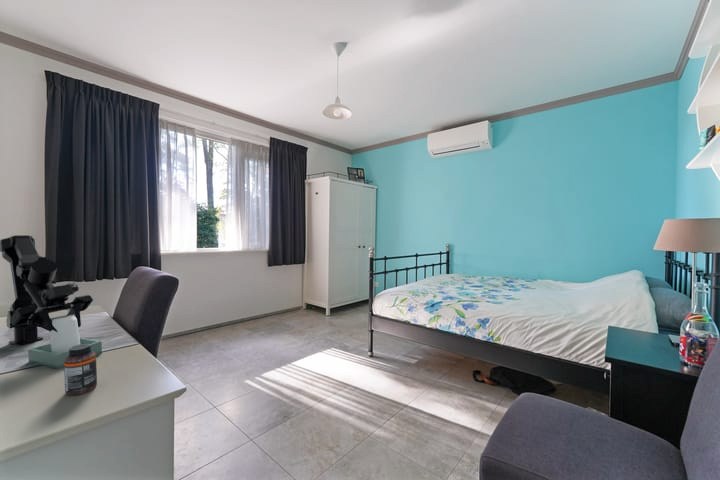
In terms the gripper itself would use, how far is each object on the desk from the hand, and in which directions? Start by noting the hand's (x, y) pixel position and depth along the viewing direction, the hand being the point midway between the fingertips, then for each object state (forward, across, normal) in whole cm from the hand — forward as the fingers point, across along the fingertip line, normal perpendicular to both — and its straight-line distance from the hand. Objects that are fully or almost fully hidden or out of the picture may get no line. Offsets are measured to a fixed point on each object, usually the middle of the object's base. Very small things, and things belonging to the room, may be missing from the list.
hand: (68, 329), depth 94 cm
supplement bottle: (+24, -12, -11) cm, 30 cm away
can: (+6, 0, +6) cm, 8 cm away
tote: (+6, 0, +7) cm, 9 cm away
